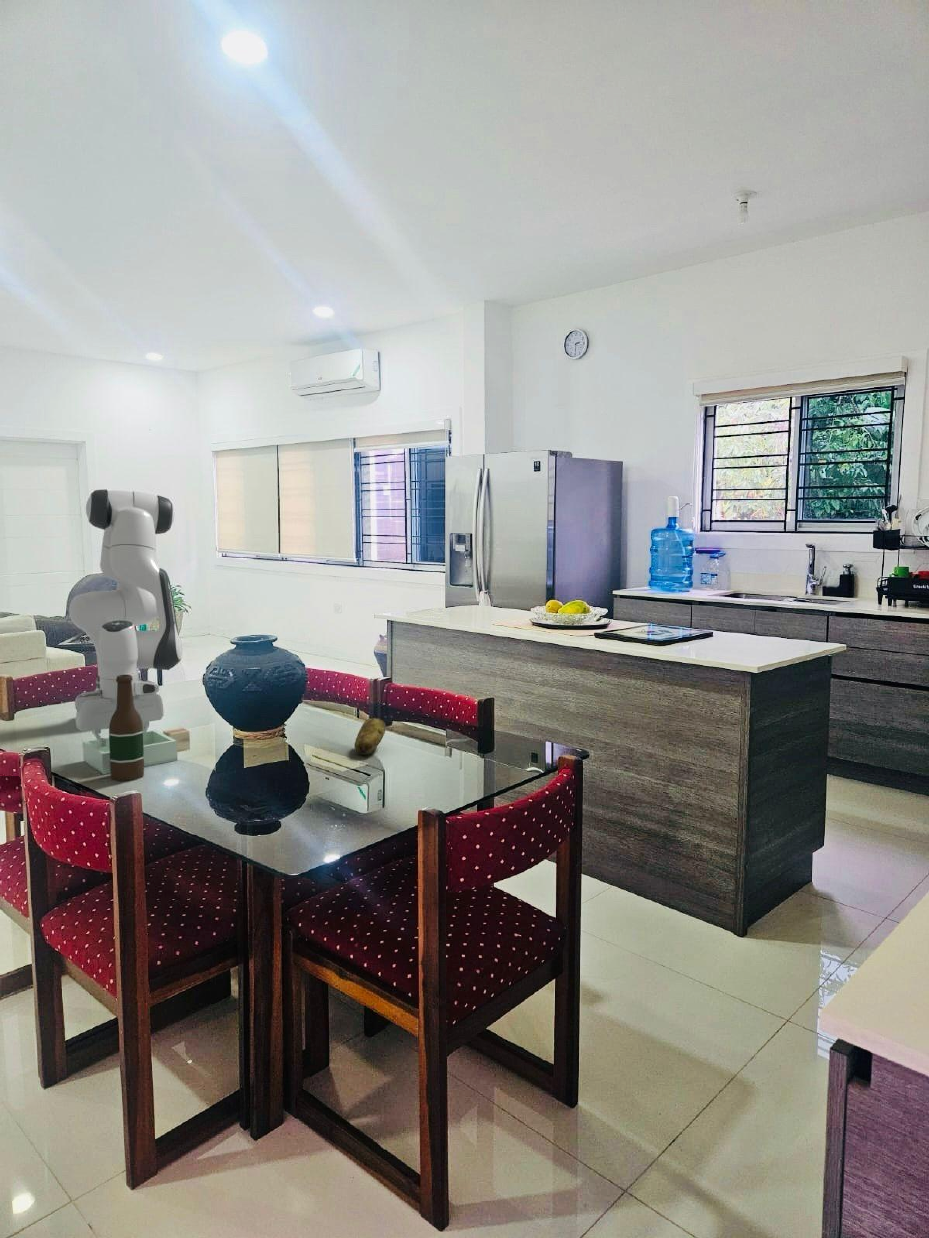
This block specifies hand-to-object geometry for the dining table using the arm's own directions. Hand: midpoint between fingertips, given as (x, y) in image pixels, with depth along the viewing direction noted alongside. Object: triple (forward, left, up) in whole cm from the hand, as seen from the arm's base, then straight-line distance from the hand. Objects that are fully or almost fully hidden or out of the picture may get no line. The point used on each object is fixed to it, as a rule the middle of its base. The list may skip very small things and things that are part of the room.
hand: (121, 742), depth 201 cm
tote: (0, +2, -5) cm, 5 cm away
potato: (+30, +53, -5) cm, 61 cm away
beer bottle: (+12, -3, -5) cm, 13 cm away
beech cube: (-3, +15, -5) cm, 16 cm away
